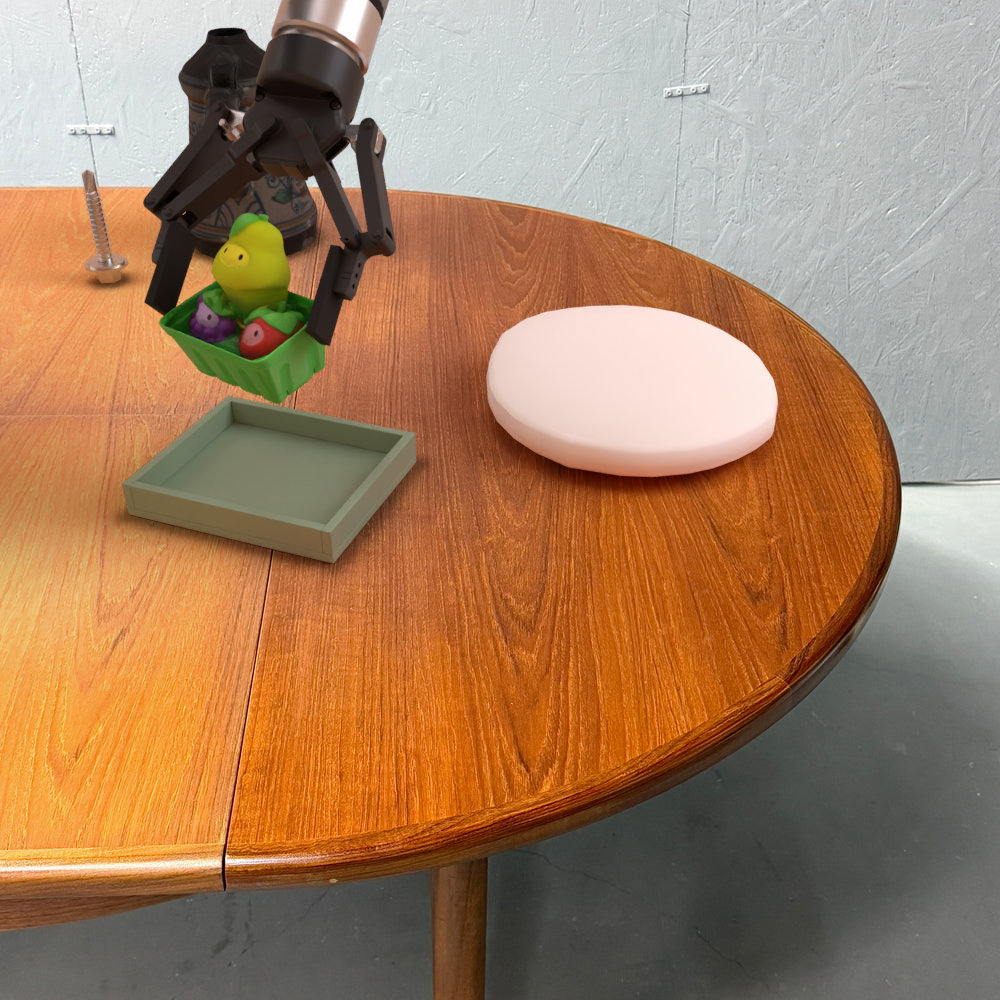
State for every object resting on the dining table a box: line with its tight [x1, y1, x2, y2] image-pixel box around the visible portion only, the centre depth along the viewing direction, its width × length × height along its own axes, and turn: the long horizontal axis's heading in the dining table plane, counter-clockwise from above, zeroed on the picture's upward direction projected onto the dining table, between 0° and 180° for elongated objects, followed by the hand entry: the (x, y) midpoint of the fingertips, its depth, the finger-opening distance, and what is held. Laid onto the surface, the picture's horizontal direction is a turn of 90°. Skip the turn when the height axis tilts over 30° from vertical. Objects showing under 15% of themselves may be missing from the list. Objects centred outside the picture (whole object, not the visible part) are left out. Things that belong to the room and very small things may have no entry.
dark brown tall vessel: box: [177, 27, 319, 259], centre depth 130 cm, size 16×19×25 cm
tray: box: [121, 395, 417, 565], centre depth 90 cm, size 19×16×3 cm
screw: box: [81, 169, 129, 284], centre depth 123 cm, size 13×5×5 cm
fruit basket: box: [158, 213, 326, 405], centre depth 78 cm, size 11×9×11 cm
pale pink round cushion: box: [485, 304, 779, 478], centre depth 100 cm, size 28×6×27 cm
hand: (236, 324), depth 78 cm, fingers closed on fruit basket, 12 cm apart
